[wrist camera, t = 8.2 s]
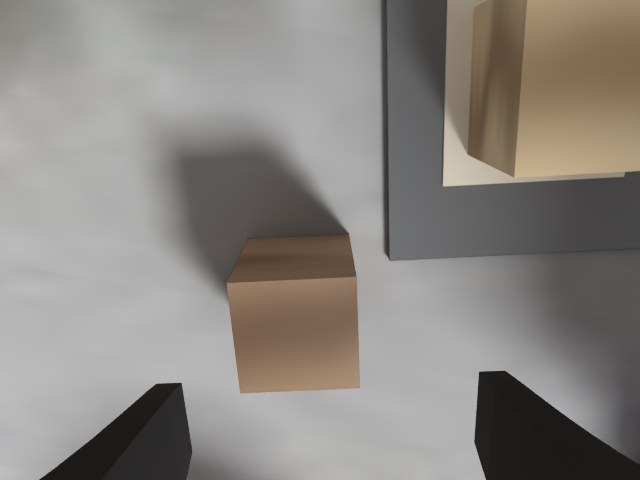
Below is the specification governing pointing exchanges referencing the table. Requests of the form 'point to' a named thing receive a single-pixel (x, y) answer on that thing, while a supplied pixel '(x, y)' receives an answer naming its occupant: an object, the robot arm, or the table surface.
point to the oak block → (556, 86)
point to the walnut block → (295, 314)
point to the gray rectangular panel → (469, 173)
